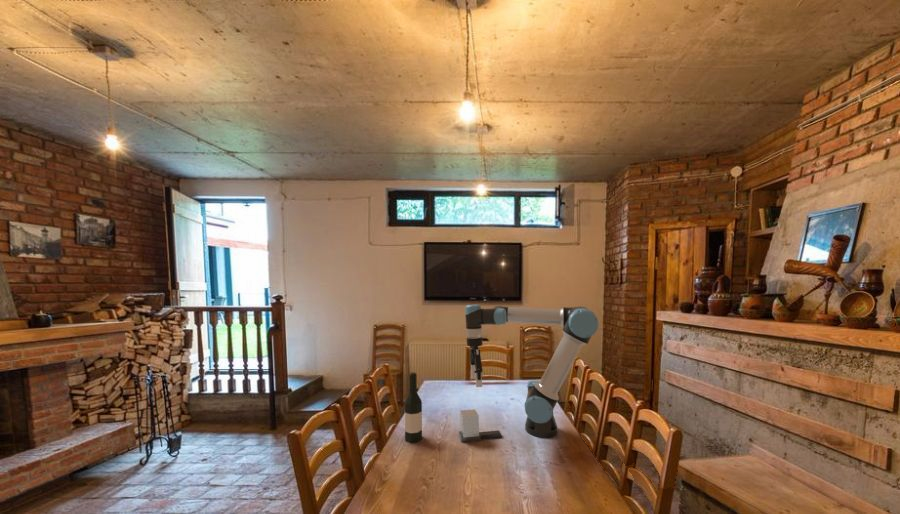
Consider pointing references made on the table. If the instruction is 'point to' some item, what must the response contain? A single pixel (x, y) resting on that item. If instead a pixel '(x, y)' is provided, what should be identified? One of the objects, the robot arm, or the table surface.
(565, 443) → the table surface
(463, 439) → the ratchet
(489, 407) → the table surface
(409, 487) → the table surface
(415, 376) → the wine bottle
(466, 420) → the grey rectangular block
